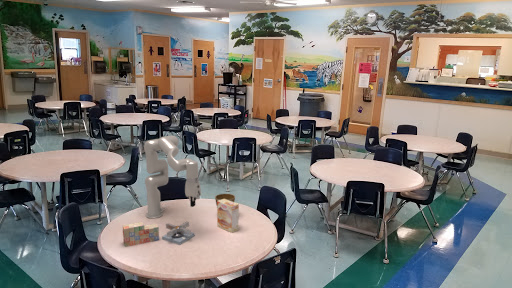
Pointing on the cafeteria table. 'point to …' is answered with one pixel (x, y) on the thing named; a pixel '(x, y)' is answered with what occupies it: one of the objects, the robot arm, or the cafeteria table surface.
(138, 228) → the stack of blocks
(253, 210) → the cafeteria table surface
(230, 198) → the plant pot
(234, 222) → the coffeecake box
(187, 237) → the stand
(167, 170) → the robot arm
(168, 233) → the capstan
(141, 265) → the cafeteria table surface
